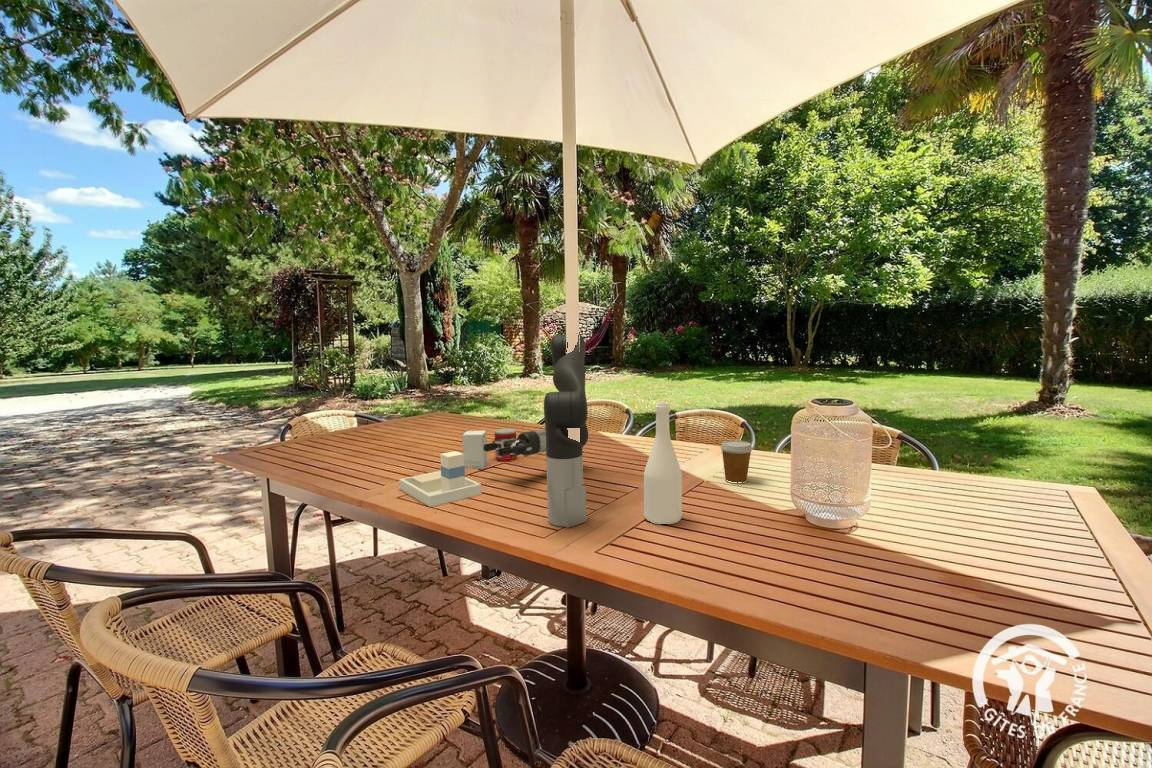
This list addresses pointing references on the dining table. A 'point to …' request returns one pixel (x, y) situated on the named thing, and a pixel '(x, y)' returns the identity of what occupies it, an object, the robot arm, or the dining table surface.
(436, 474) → the cream rectangular block
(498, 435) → the canned food
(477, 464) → the supplement box
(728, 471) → the brown clear cup
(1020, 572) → the dining table surface
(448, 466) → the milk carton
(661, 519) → the wine bottle
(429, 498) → the tray
